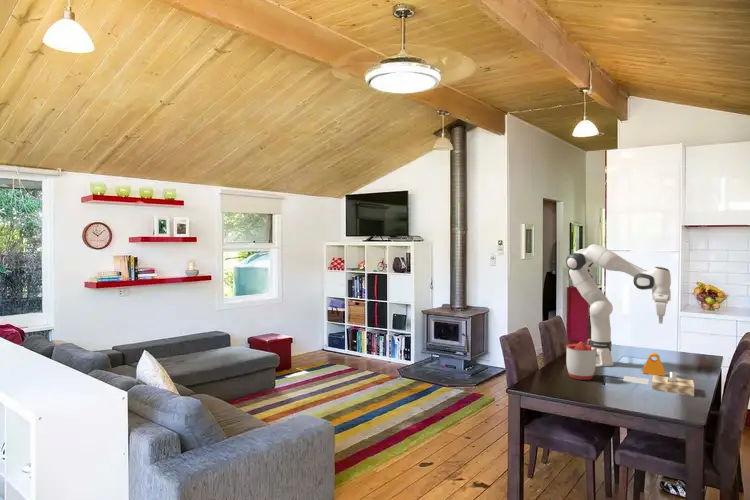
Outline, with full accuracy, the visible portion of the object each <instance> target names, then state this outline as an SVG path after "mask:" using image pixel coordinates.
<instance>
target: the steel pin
mask: <svg viewBox="0 0 750 500" xmlns="http://www.w3.org/2000/svg"><path fill="white" fill-rule="evenodd" d="M676 378H677V372H676V371H672V370H671V371H669V382H676Z"/></svg>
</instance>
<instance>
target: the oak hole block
mask: <svg viewBox="0 0 750 500" xmlns="http://www.w3.org/2000/svg"><path fill="white" fill-rule="evenodd" d="M669 377H670V376H669ZM669 377H668V376H662V375H659V376H657V375H652V379H651V380H652V381H651V382H652V383H651V391H657V392H665V393H672V394H679V395H682V396H688V395H689V397H694V396H695V383H694V380H693V379H688V378H687V379H685V378H678V377H676V382H669Z"/></svg>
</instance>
